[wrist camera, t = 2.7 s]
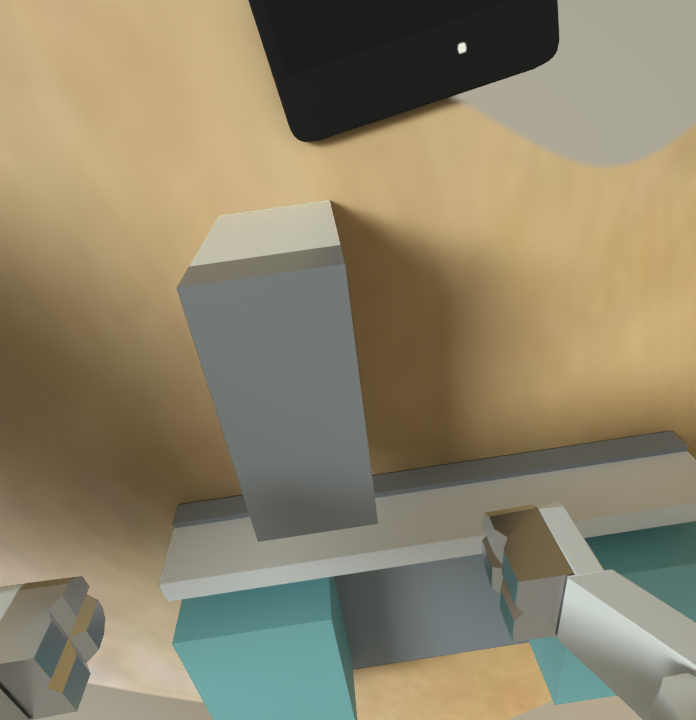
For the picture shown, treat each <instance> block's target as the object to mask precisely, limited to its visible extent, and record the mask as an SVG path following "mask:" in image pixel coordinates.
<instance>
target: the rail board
mask: <svg viewBox="0 0 696 720" xmlns="http://www.w3.org/2000/svg"><path fill="white" fill-rule="evenodd" d="M687 450H688V445H687V444H686V443H685V442H683V441H682V440H681V439H680V438H679V437H678V436H677V435H676V434H675V433H674V432H673V431H667V432H660V433H653V434H647V435H640V436H633V437H627V438H620V439H613V440H607V441H600V442H594V443H587V444H580V445H574V446H567V447H560V448H554V449H547V450H540V451H534V452H527V453H520V454H514V455H507V456H500V457H494V458H487V459H480V460H474V461H467V462H460V463H454V464H447V465H440V466H434V467H427V468H420V469H414V470H407V471H400V472H394V473H387V474H380V475H374V476H372V479H373V487H374V495H375V503H376V511H377V519H378V524H374V525H367V526H361V527H354V528H347V529H341V530H334V531H328V532H321V533H314V534H308V535H301V536H295V537H288V538H281V539H275V540H268V541H261V542H258V541H257V537H256V534H255V531H254V528H253V525H252V522H251V519H250V516H249V512H248V509H247V506H246V503H245V500H244V497H243V495H241V496H234V497H227V498H221V499H214V500H207V501H201V502H194V503H187V504H181V505H178V506H177V509H176V513H175V516H174V520H173V523H172V525H173V527H174V531H173V534H172V538H171V541H170V545H169V548H168V552H167V556H166V559H165V563H164V566H163V570H162V573H161V577H160V580H159V584H158V585H159V587H160V589H161V591H162V593H163V595H164V597H165V599H166V601H167V602H168V601H175V600H182V603H181V607H180V612H179V616H178V620H177V625H176V629H175V634H174V638H173V642H172V644H173V646H174V648H175V650H176V652H177V654H178V655H179V657H180V659H181V661H182V663H183V665H184V667H185V668H186V670H187V672H188V674H189V676H190V678H191V680H192V681H193V683H194V685H195V687H196V689H197V691H198V692H199V694H200V696H201V698H202V700H203V702H204V703H205V705H206V707H207V709H208V711H209V712H210V715H211V716H212V718H213V720H357V712H356V701H355V689H354V678H353V669H360V668H366V667H373V666H379V665H386V664H392V663H398V662H405V661H411V660H418V659H424V658H431V657H437V656H444V655H450V654H457V653H463V652H469V651H476V650H482V649H489V648H495V647H502V646H508V645H515V644H521V643H527V642H529V643H530V645H531V647H532V650H533V652H534V655H535V657H536V660H537V662H538V665H539V667H540V670H541V672H542V675H543V677H544V679H545V682H546V684H547V687H548V689H549V692H550V694H551V697H552V699H553V702H554V704H555V705H558V704H564V703H570V702H577V701H584V700H590V699H596V698H602V697H609V696H615V695H616V694H615V693H614V692H613V691H612V690H611V689H610V688H609V687H608V686H607V685H606V684H605V683H604V682H603V681H601V680H600V679H599V678H598V677H597V676H596V675H595V674H594V673H593V672H592V671H591V670H590V669H589V668H588V667H586V666H585V665H584V664H583V663H582V662H581V661H580V660H579V659H578V658H577V657H576V656H575V655H574V654H573V653H572V652H570V651H569V650H568V649H567V648H566V647H565V646H564V645H563V644H562V643H561V642H560V641H559V640H558V639H557V636H555V637H547V638H539V639H531V640H524V641H516V642H512V639H511V637H510V634H509V631H508V629H507V626H506V624H505V621H504V619H503V616H502V613H501V611H500V594H499V593H498V592H496V591H495V590H494V589H493V588H492V587H491V584H490V582H489V579H488V576H487V573H486V569H485V566H484V561H483V554H482V540H483V539H484V537H485V536H486V533H485V531H484V528H483V526H482V522H483V515H484V513H485V512H491V511H497V510H503V509H509V508H514V507H520V506H526V505H536V504H542V503H549V502H555V501H559V502H560V503H561V504H563V506H564V507H565V509H566V510H567V512H568V514H569V515H570V517H571V518H572V520H573V521H574V523H575V525H576V526H577V528H578V529H579V531H580V532H581V534H582V536H583V537H584V539H585V540H586V542H587V544H588V545H589V547H590V548H591V550H592V551H593V553H594V555H595V556H596V558H597V559H598V561H599V563H600V564H601V566H602V567H603V569H604V570H611V569H612V570H614V571H616V572H617V573H619V574H620V575H622V576H623V577H625V578H627V579H628V580H630V581H631V582H633V583H634V584H636V585H638V586H639V587H641V588H642V589H644V590H645V591H647V592H648V593H650V594H652V595H653V596H655V597H656V598H658V599H659V600H661V601H663V602H664V603H666V604H667V605H669V606H670V607H672V608H673V609H675V610H677V611H678V612H680V613H681V614H683V615H684V616H686V617H688V618H689V619H691V620H692V621H694V622H695V623H696V459H695V458H694V457H693V456H692V455H691V454H690V453H689V452H688V451H687Z"/></svg>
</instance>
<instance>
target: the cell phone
mask: <svg viewBox="0 0 696 720" xmlns="http://www.w3.org/2000/svg"><path fill="white" fill-rule="evenodd" d="M249 3H250V6H251V10H252V13H253V16H254V19H255V22H256V25H257V28H258V31H259V34H260V37H261V40H262V44H263V47H264V50H265V53H266V56H267V59H268V62H269V65H270V68H271V71H272V75H273V78H274V81H275V84H276V87H277V90H278V93H279V96H280V99H281V102H282V106H283V109H284V112H285V115H286V118H287V121H288V124H289V127H290V129H291V131H292V133H293V135H294V136H295V137H296V138H297V139H298V140H300V141H304V142H311V141H317V140H322V139H325V138H328V137H331V136H334V135H337V134H340V133H343V132H346V131H349V130H352V129H355V128H358V127H361V126H364V125H367V124H370V123H373V122H376V121H379V120H382V119H385V118H388V117H391V116H394V115H397V114H400V113H403V112H406V111H409V110H412V109H415V108H418V107H421V106H424V105H427V104H430V103H433V102H436V101H439V100H442V99H445V98H448V97H451V96H454V95H457V94H460V93H463V92H466V91H469V90H472V89H475V88H478V87H481V86H484V85H487V84H490V83H493V82H496V81H499V80H502V79H505V78H508V77H511V76H514V75H517V74H520V73H523V72H526V71H529V70H532V69H535V68H536V67H538V66H540V65H542V64H544V63H546V62H548V61H549V60H550V59H551V58H553V56H554V55H555V54H556V51H557V48H558V44H559V25H558V4H557V0H249Z"/></svg>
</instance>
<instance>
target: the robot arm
mask: <svg viewBox="0 0 696 720" xmlns="http://www.w3.org/2000/svg"><path fill="white" fill-rule="evenodd" d="M482 526H483V528H484V531H485V533H486V536H485V537H484V539H483V540H482V554H483V561H484V566H485V569H486V573H487V576H488V579H489V582H490V584H491V587H492V588H493V589H494V590H495V591H496V592H498V593H499V594H500V611H501V613H502V616H503V619H504V621H505V624H506V626H507V629H508V631H509V634H510V637H511V639H512V642H516V641H524V640H531V639H539V638H547V637H555V636H557V639H558V640H559V641H560V642H561V643H562V644H563V645H564V646H565V647H566V648H567V649H568V650H569V651H570V652H572V653H573V654H574V655H575V656H576V657H577V658H578V659H579V660H580V661H581V662H582V663H583V664H584V665H585V666H586V667H588V668H589V669H590V670H591V671H592V672H593V673H594V674H595V675H596V676H597V677H598V678H599V679H600V680H601V681H603V682H604V683H605V684H606V685H607V686H608V687H609V688H610V689H611V690H612V691H613V692H614V693H615V694H616V695H618V696H619V697H620V698H621V699H622V700H623V701H624V702H625V703H626V704H627V705H628V706H629V707H630V708H631V709H632V710H634V711H635V712H636V713H637V714H638V715H639V716H640V717H641V718H642V719H643V720H696V623H695V622H694V621H692V620H691V619H689V618H688V617H686V616H684V615H683V614H681V613H680V612H678V611H677V610H675V609H673V608H672V607H670V606H669V605H667V604H666V603H664V602H663V601H661V600H659V599H658V598H656V597H655V596H653V595H652V594H650V593H648V592H647V591H645V590H644V589H642V588H641V587H639V586H638V585H636V584H634V583H633V582H631V581H630V580H628V579H627V578H625V577H623V576H622V575H620V574H619V573H617V572H616V571H614V570H612V569H611V570H604V569H603V567H602V566H601V564H600V563H599V561H598V559H597V558H596V556H595V555H594V553H593V551H592V550H591V548H590V547H589V545H588V544H587V542H586V540H585V539H584V537H583V536H582V534H581V532H580V531H579V529H578V528H577V526H576V525H575V523H574V521H573V520H572V518H571V517H570V515H569V514H568V512H567V510H566V509H565V507H564V506H563V504H561V503H560V502H559V501H555V502H549V503H542V504H536V505H526V506H520V507H514V508H509V509H503V510H497V511H491V512H485V513H484V515H483V522H482ZM88 589H89V585H88V584H87V582H86V581H85V580H84V578H83V577H82V576H80V577H71V578H63V579H55V580H47V581H40V582H32V583H25V584H18V585H11V586H4V587H0V720H33V719H38V718H44V717H49V716H54V715H59V714H65V713H70V712H75V711H77V710H78V707H79V704H80V701H81V699H82V696H83V693H84V690H85V687H86V685H87V682H88V679H89V676H90V671H89V668H88V665H87V662H88V661H89V660H90V659H91V658H92V656H93V655H94V654H95V653H96V652H97V651H98V650H99V647H100V644H101V641H102V638H103V635H104V626H105V616H104V612H103V608H102V606H101V604H100V603H99V601H98V600H97V599H95V598H93V597H91V596H89V595H86V594H87V591H88Z"/></svg>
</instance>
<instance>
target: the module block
mask: <svg viewBox="0 0 696 720" xmlns="http://www.w3.org/2000/svg"><path fill="white" fill-rule="evenodd" d="M177 291H178V294H179V297H180V300H181V303H182V306H183V310H184V313H185V316H186V319H187V322H188V325H189V328H190V331H191V335H192V338H193V341H194V344H195V347H196V350H197V353H198V356H199V360H200V363H201V366H202V369H203V372H204V375H205V378H206V381H207V385H208V388H209V391H210V394H211V397H212V400H213V403H214V406H215V409H216V413H217V416H218V419H219V422H220V425H221V428H222V431H223V434H224V438H225V441H226V444H227V447H228V450H229V453H230V456H231V459H232V463H233V466H234V469H235V472H236V475H237V478H238V481H239V484H240V487H241V491H242V494H243V497H244V500H245V503H246V506H247V509H248V512H249V516H250V519H251V522H252V525H253V528H254V531H255V534H256V537H257V541H258V542H261V541H268V540H275V539H281V538H288V537H295V536H301V535H308V534H314V533H321V532H328V531H334V530H341V529H347V528H354V527H361V526H367V525H374V524H378V519H377V511H376V503H375V495H374V487H373V479H372V471H371V464H370V456H369V448H368V440H367V432H366V424H365V416H364V409H363V401H362V393H361V385H360V377H359V369H358V362H357V354H356V346H355V338H354V330H353V322H352V314H351V307H350V299H349V291H348V283H347V275H346V267H345V262H344V257H343V253H342V249H341V245H340V241H339V237H338V233H337V228H336V224H335V220H334V216H333V212H332V208H331V204H330V200H325V201H318V202H311V203H304V204H297V205H290V206H283V207H276V208H269V209H262V210H255V211H248V212H241V213H234V214H227V215H220V216H218V218H217V220H216V222H215V223H214V225H213V227H212V228H211V230H210V232H209V233H208V235H207V237H206V239H205V240H204V242H203V244H202V245H201V247H200V249H199V251H198V252H197V254H196V256H195V257H194V259H193V261H192V263H191V264H190V266H189V268H188V269H187V271H186V273H185V274H184V276H183V278H182V280H181V281H180V283H179V285H178V286H177Z"/></svg>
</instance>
